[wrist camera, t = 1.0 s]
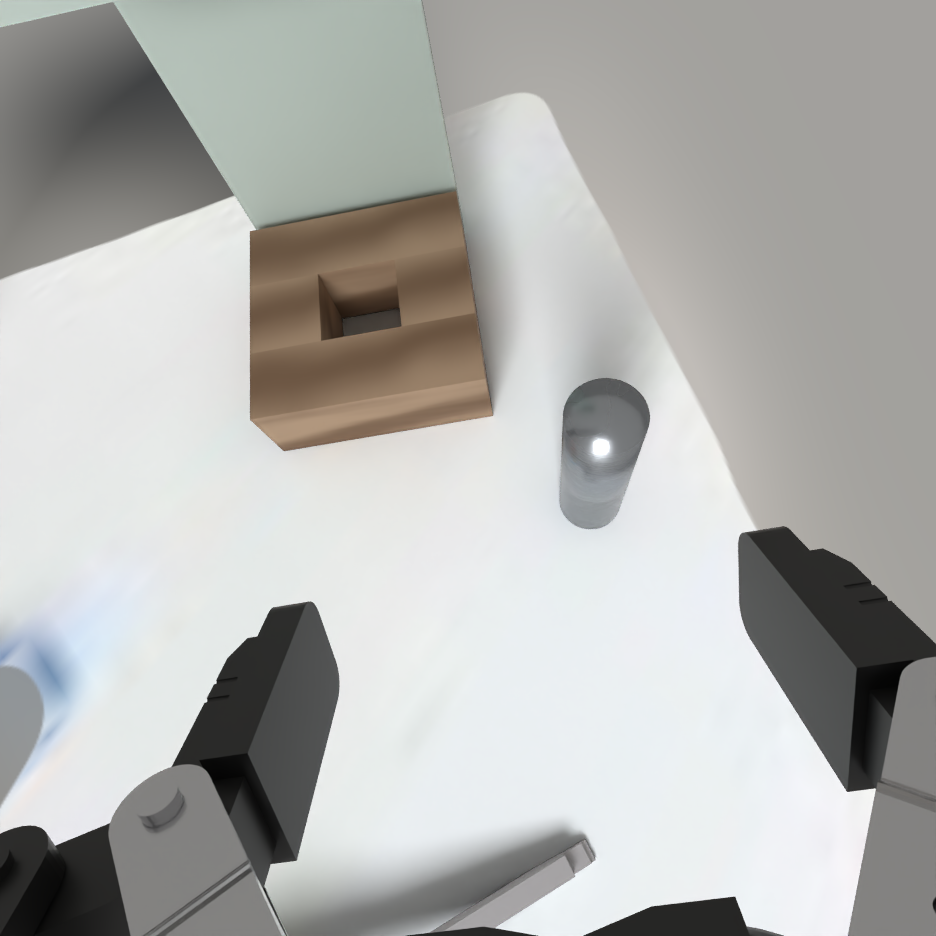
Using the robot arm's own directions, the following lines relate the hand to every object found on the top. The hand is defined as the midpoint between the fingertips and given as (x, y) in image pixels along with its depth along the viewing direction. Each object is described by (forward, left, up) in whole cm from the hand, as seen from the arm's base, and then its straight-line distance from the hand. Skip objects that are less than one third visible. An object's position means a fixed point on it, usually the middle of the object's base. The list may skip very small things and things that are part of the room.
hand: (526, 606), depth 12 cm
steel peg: (+9, +5, -25) cm, 27 cm away
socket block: (+7, +23, -25) cm, 34 cm away
